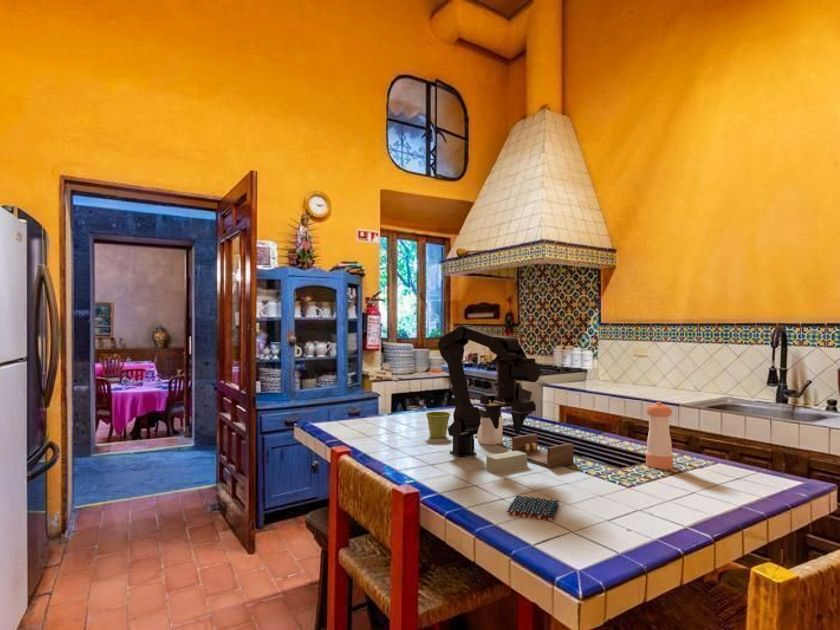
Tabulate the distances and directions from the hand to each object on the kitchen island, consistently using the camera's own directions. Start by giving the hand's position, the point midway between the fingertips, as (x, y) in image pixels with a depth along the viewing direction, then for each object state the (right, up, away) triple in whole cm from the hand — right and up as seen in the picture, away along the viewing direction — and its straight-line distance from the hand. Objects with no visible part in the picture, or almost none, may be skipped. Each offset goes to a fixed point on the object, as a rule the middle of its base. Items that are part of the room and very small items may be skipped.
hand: (506, 431), depth 150 cm
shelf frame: (+13, -11, +8) cm, 18 cm away
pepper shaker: (+46, -11, +1) cm, 47 cm away
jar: (-1, -11, +31) cm, 33 cm away
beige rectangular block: (0, -11, 0) cm, 11 cm away
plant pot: (-19, -11, +40) cm, 46 cm away
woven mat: (0, -11, -34) cm, 36 cm away
